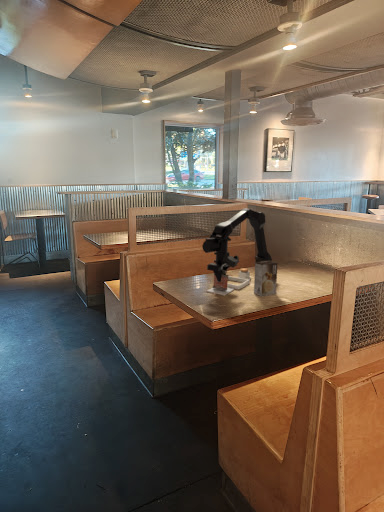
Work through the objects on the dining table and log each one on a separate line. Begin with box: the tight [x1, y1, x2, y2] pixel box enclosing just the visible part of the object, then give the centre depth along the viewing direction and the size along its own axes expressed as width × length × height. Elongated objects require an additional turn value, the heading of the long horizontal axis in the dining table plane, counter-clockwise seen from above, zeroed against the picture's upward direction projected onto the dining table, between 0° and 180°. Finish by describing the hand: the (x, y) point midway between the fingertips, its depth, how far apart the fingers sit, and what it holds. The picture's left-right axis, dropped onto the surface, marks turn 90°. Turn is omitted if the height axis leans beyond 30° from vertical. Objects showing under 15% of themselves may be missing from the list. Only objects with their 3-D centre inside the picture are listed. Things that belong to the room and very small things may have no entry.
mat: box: [206, 287, 235, 296], centre depth 182 cm, size 10×10×1 cm
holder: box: [227, 270, 252, 291], centre depth 197 cm, size 14×22×4 cm, turn 147°
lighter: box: [212, 270, 230, 291], centre depth 181 cm, size 8×3×10 cm, turn 53°
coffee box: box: [253, 260, 278, 297], centre depth 177 cm, size 9×6×16 cm
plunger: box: [239, 267, 249, 273], centre depth 202 cm, size 4×4×4 cm
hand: (220, 280), depth 181 cm, fingers closed on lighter, 3 cm apart
